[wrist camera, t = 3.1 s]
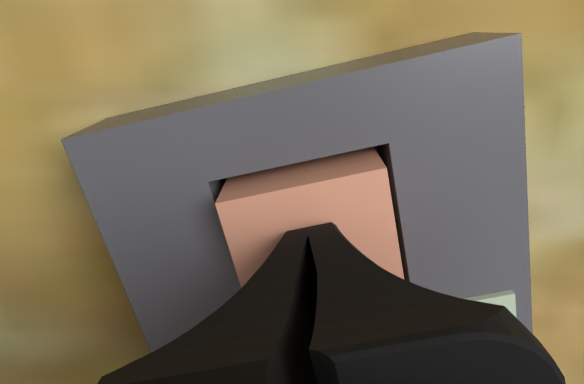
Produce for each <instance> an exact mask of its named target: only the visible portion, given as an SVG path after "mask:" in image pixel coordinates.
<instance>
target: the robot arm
mask: <svg viewBox="0 0 584 384" xmlns="http://www.w3.org/2000/svg"><path fill="white" fill-rule="evenodd" d="M98 384H565V378H564V376H563V374H562V372H561V371H560V369H559V368H558V366H557V364H556V363H555V361H554V360H553V358H552V357H551V356H550V354H549V353H548V352H547V350H546V349H545V348H544V347H543V345H542V344H541V343H540V342H539V340H538V339H537V338H536V337H535V336H534V335H533V334H532V333H531V332H530V331H529V330H528V329H527V328H526V327H525V326H524V325H523V324H522V323H521V322H520V321H519V320H518V319H517V318H516V317H515V316H514V315H513V314H512V313H511V312H510V311H509V310H508V309H507V308H506V307H505V306H502V305H496V304H490V303H485V302H479V301H473V300H467V299H462V298H458V297H454V296H450V295H447V294H443V293H439V292H436V291H433V290H430V289H427V288H424V287H421V286H419V285H416V284H414V283H411V282H409V281H406V280H404V279H402V278H400V277H398V276H396V275H394V274H392V273H390V272H388V271H387V270H385V269H383V268H381V267H380V266H379V265H377V264H376V263H374V262H373V261H372V260H370V259H369V258H368V257H366V256H365V255H364V254H363V253H361V252H360V251H359V250H358V249H357V248H356V247H355V246H354V245H353V244H351V243H350V242H349V241H348V240H347V238H346V237H345V236H344V235H343V234H342V233H341V232H340V230H339V229H338V227H337V225H335V224H334V223H332V222H329V223H324V224H319V225H315V226H310V227H305V228H300V229H295V230H290V231H286V233H285V234H284V235H283V237H282V238H281V240H280V241H279V242H278V244H277V245H276V247H275V248H274V249H273V251H272V252H271V254H270V255H269V256H268V258H267V259H266V260H265V262H264V263H263V264H262V265H261V266H260V268H259V269H258V270H257V271H256V272H255V273H254V274H253V276H252V277H251V278H250V279H249V280H248V281H247V282H246V284H245V285H244V286H243V287H242V288H241V289H240V290H239V291H238V292H237V293H236V294H234V295H233V296H232V297H231V298H230V299H229V300H228V301H227V302H226V303H224V304H223V305H222V306H221V307H220V308H219V309H217V310H216V311H215V312H213V313H212V314H211V315H209V316H208V317H207V318H205V319H204V320H202V321H201V322H200V323H198V324H197V325H196V326H194V327H193V328H192V329H190V330H189V331H187V332H185V333H184V334H182V335H181V336H179V337H178V338H176V339H174V340H173V341H171V342H169V343H168V344H166V345H164V346H162V347H161V348H159V349H157V350H155V351H154V352H152V353H150V354H148V355H146V356H144V357H142V358H140V359H138V360H136V361H134V362H132V363H130V364H128V365H126V366H124V367H122V368H120V369H118V370H115V371H113V372H111V373H109V374H107V375H105V376H102V377H101V379H100V381H99V382H98Z"/></svg>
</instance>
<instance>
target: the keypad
mask: <svg viewBox="0 0 584 384" xmlns="http://www.w3.org/2000/svg"><path fill="white" fill-rule="evenodd" d="M61 142H62V144H63V146H64V149H65V151H66V153H67V156H68V158H69V160H70V163H71V165H72V167H73V170H74V172H75V175H76V177H77V179H78V182H79V184H80V186H81V189H82V191H83V193H84V196H85V198H86V200H87V203H88V205H89V207H90V210H91V212H92V214H93V217H94V219H95V221H96V224H97V226H98V228H99V231H100V233H101V235H102V238H103V240H104V242H105V245H106V247H107V249H108V252H109V254H110V257H111V259H112V261H113V264H114V266H115V268H116V271H117V273H118V275H119V278H120V280H121V282H122V285H123V287H124V289H125V292H126V294H127V296H128V299H129V301H130V303H131V306H132V308H133V310H134V313H135V315H136V317H137V320H138V322H139V324H140V327H141V329H142V331H143V334H144V336H145V339H146V341H147V343H148V346H149V348H150V350H151V353H152V352H154V351H155V350H157V349H159V348H161V347H162V346H164V345H166V344H168V343H169V342H171V341H173V340H174V339H176V338H178V337H179V336H181V335H182V334H184V333H185V332H187V331H189V330H190V329H192V328H193V327H194V326H196V325H197V324H198V323H200V322H201V321H202V320H204V319H205V318H207V317H208V316H209V315H211V314H212V313H213V312H215V311H216V310H217V309H219V308H220V307H221V306H222V305H223V304H224V303H226V302H227V301H228V300H229V299H230V298H231V297H232V296H233V295H234V294H236V293H237V292H238V291H239V290H240V289H241V285H240V282H239V279H238V276H237V272H236V269H235V266H234V263H233V260H232V257H231V253H230V250H229V247H228V244H227V241H226V237H225V234H224V231H223V228H222V225H221V222H220V218H219V215H218V212H217V209H216V206H215V202H216V200H217V198H218V196H219V194H220V192H221V190H222V188H223V186H224V184H225V181H226V179H227V178H229V177H233V176H238V175H243V174H247V173H252V172H257V171H261V170H266V169H271V168H275V167H280V166H285V165H289V164H294V163H299V162H303V161H308V160H313V159H317V158H322V157H327V156H331V155H336V154H341V153H345V152H350V151H355V150H359V149H364V148H369V147H374V149H375V150H376V152H377V153H378V155H379V156H380V158H381V159H382V161H383V163H384V164H385V166H386V167H387V172H388V178H389V185H390V191H391V198H392V204H393V210H394V217H395V223H396V229H397V236H398V242H399V249H400V255H401V261H402V268H403V274H404V280H406V281H409V282H411V283H414V284H416V285H419V286H421V287H424V288H427V289H430V290H433V291H436V292H439V293H443V294H447V295H450V296H454V297H458V298H462V299H467V300H473V301H479V302H485V303H490V304H496V305H502V306H505V307H506V308H507V309H508V310H509V311H510V312H511V313H512V314H513V315H514V316H515V317H516V318H517V319H518V320H519V321H520V322H521V323H522V324H523V325H524V326H525V327H526V328H527V329H528V330H529V331H530V332H531V333H532V306H531V279H530V252H529V225H528V198H527V171H526V144H525V117H524V90H523V63H522V36H521V33H479V32H473V33H469V34H465V35H461V36H456V37H452V38H448V39H443V40H439V41H435V42H431V43H426V44H422V45H418V46H413V47H409V48H405V49H401V50H396V51H392V52H388V53H384V54H379V55H375V56H371V57H366V58H362V59H358V60H354V61H349V62H345V63H341V64H337V65H332V66H328V67H324V68H319V69H315V70H311V71H307V72H302V73H298V74H294V75H289V76H285V77H281V78H277V79H272V80H268V81H264V82H260V83H255V84H251V85H247V86H242V87H238V88H234V89H230V90H225V91H221V92H217V93H213V94H208V95H204V96H200V97H195V98H191V99H187V100H183V101H178V102H174V103H170V104H165V105H161V106H157V107H153V108H148V109H144V110H140V111H136V112H131V113H127V114H123V115H118V116H114V117H110V118H107V119H104V120H102V121H100V122H98V123H96V124H94V125H91V126H89V127H87V128H85V129H83V130H81V131H79V132H76V133H74V134H72V135H70V136H68V137H66V138H64V139H61ZM532 334H533V333H532Z"/></svg>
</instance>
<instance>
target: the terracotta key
mask: <svg viewBox="0 0 584 384" xmlns="http://www.w3.org/2000/svg"><path fill="white" fill-rule="evenodd" d="M215 206H216V209H217V212H218V215H219V218H220V222H221V225H222V228H223V231H224V234H225V237H226V241H227V244H228V247H229V250H230V253H231V257H232V260H233V263H234V266H235V269H236V272H237V276H238V279H239V282H240V285H241V288H242V287H243V286H244V285H245V284H246V282H247V281H248V280H249V279H250V278H251V277H252V276H253V274H254V273H255V272H256V271H257V270H258V269H259V268H260V266H261V265H262V264H263V263H264V262H265V260H266V259H267V258H268V256H269V255H270V254H271V252H272V251H273V249H274V248H275V247H276V245H277V244H278V242H279V241H280V240H281V238H282V237H283V235H284V234H285V233H286V231H290V230H295V229H300V228H305V227H310V226H315V225H319V224H324V223H329V222H332V223H334V224H335V225H337V227H338V229H339V230H340V232H341V233H342V234H343V235H344V236H345V237H346V238H347V240H348V241H349V242H350V243H351V244H353V245H354V246H355V247H356V248H357V249H358V250H359V251H360V252H361V253H363V254H364V255H365V256H366V257H368V258H369V259H370V260H372V261H373V262H374V263H376V264H377V265H379V266H380V267H381V268H383V269H385V270H387V271H388V272H390V273H392V274H394V275H396V276H398V277H400V278H402V279H404V274H403V268H402V261H401V255H400V249H399V242H398V236H397V229H396V223H395V217H394V210H393V204H392V198H391V191H390V185H389V178H388V172H387V167H386V166H385V164H384V163H383V161H382V159H381V158H380V156H379V155H378V153H377V152H376V150H375V149H374V147H369V148H364V149H359V150H355V151H350V152H345V153H341V154H336V155H331V156H327V157H322V158H317V159H313V160H308V161H303V162H299V163H294V164H289V165H285V166H280V167H275V168H271V169H266V170H261V171H257V172H252V173H247V174H243V175H238V176H233V177H229V178H227V179H226V181H225V184H224V186H223V188H222V190H221V192H220V194H219V196H218V198H217V200H216V202H215Z"/></svg>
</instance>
